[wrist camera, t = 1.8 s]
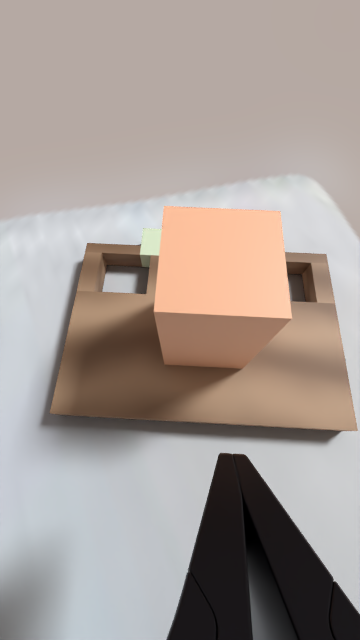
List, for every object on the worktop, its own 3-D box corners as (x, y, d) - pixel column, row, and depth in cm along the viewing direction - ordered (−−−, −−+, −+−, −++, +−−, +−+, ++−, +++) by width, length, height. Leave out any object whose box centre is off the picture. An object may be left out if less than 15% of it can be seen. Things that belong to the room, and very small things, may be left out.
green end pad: (265, 272, 27) (272, 260, 25) (142, 266, 27) (139, 254, 25) (263, 247, 28) (269, 234, 26) (145, 241, 28) (143, 228, 26)
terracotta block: (242, 368, 21) (292, 318, 12) (164, 364, 21) (153, 311, 12) (240, 298, 23) (280, 211, 14) (169, 295, 24) (163, 206, 14)
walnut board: (342, 431, 21) (357, 430, 20) (60, 415, 22) (49, 413, 20) (316, 266, 27) (326, 254, 25) (93, 255, 27) (87, 243, 26)
